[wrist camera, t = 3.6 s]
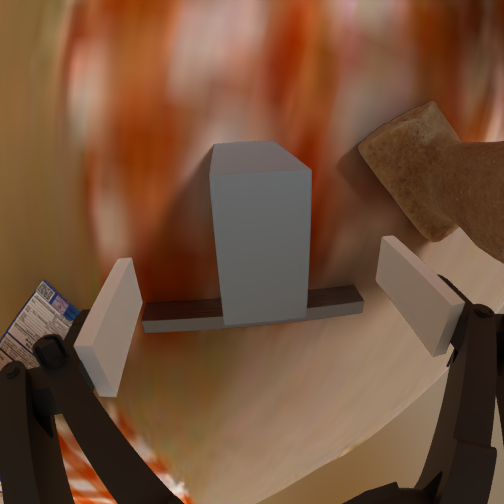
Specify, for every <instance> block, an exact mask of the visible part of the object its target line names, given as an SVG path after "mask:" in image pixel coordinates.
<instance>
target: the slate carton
mask: <svg viewBox="0 0 504 504" xmlns="http://www.w3.org/2000/svg"><path fill="white" fill-rule="evenodd" d="M209 182H210V194H211V205H212V215H213V226H214V236H215V246H216V255H217V265H218V274H219V283H220V292H221V301H222V309H223V317H224V325H234V324H246V323H257V322H267V321H277V320H287V319H296V318H304V317H306V311H307V296H308V278H309V256H310V230H311V187H312V170H311V169H310V168H308V167H307V166H306V165H305V164H303V163H302V162H301V161H300V160H298V159H297V158H296V157H295V156H293V155H292V154H291V153H289V152H288V151H287V150H286V149H284V148H283V147H282V146H280V145H279V144H278V143H276V142H275V141H253V142H236V143H222V144H214V148H213V154H212V160H211V166H210V173H209Z"/></svg>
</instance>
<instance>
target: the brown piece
mask: <svg viewBox="0 0 504 504" xmlns="http://www.w3.org/2000/svg"><path fill="white" fill-rule="evenodd" d="M358 150H359V153H360V154H361V156H362V157H363V159H364V160H365V161H366V163H367V164H368V165H369V167H370V168H371V169H372V170H373V172H374V174H375V175H376V176H377V178H378V179H379V180H380V182H381V183H382V184H383V186H384V187H385V188H386V189H387V191H388V192H389V193H390V194H391V195H392V197H393V198H394V200H395V201H396V203H397V204H398V205H399V207H400V208H401V209H402V211H403V212H404V213H405V215H406V216H407V217H408V218H409V220H410V221H411V222H412V223H413V224H414V226H415V227H416V228H417V229H418V231H419V232H420V233H421V234H422V235H423V236H424V237H425V238H427V239H428V240H430V241H432V242H438V241H441V240H442V239H444V238H445V237H447V236H448V235H449V234H451V233H452V232H453V231H455V230H456V229H457V228H458V227H460V228H461V229H463V231H464V232H465V233H466V234H467V235H468V236H469V238H470V239H471V240H472V241H473V242H474V243H475V245H476V246H478V247H479V248H480V249H482V250H483V251H485V252H486V253H488V254H489V255H490V256H492V257H493V258H495V259H496V260H498V261H500V262H502V263H504V141H500V142H483V143H481V142H477V143H465V142H462V141H461V140H460V138H459V137H458V135H457V134H456V132H455V131H454V129H453V128H452V126H451V125H450V123H449V122H448V121H447V119H446V118H445V116H444V115H443V113H442V112H441V110H440V109H439V107H438V106H437V104H436V103H435V102H433V101H429V102H426V103H425V104H424V105H423V106H421V107H418V108H414V109H410V110H409V111H408V112H407V113H404V114H402V115H401V116H399V117H396V118H394V119H393V120H392V121H391V122H390V123H387V124H384V125H382V126H380V127H379V128H377V129H376V130H375V132H373V133H371V134H369V135H368V136H367V137H366V139H365V140H364V141H363V142H361V143H360V144H359V146H358Z"/></svg>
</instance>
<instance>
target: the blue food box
mask: <svg viewBox="0 0 504 504" xmlns="http://www.w3.org/2000/svg"><path fill="white" fill-rule="evenodd" d="M79 313H80V311H78V310H77V309H76V308H75V307H74V306H73V305H72V304H70V303H69V302H68V301H67V300H66V299H65V298H64V297H63V296H62V295H60V294H59V293H58V292H57V291H56V290H55V289H54V288H53V287H52V286H51V285H50V284H49V283H48V282H47V281H46V280H45V279H44V280H43V281H42V283H41V284H40V285H39V286H38V288H37V289H36V290H35V292H34V293H33V294H32V296H31V297H30V298H29V300H28V301H27V302H26V304H25V305H24V306H23V308H22V309H21V311H20V312H19V313H18V315H17V316H16V318H15V319H14V320H13V322H12V323H11V325H10V326H9V328H8V329H7V331H6V332H5V334H4V335H3V337H2V338H1V340H0V371H1V369H2V368H3V367H4V366H5V365H6V364H7V363H9V362H11V361H16V360H18V361H21V362H23V363H24V365H25V366H26V368H27V369H30V368H34V367H39V366H40V365H39V363H38V362H37V360H36V358H35V356H34V354H33V352H32V348H33V345H34V343H35V342H36V341H37V340H38V339H40V338H41V337H43V336H45V335H48V334H57V335H60V336H61V337H62V339H63V340H64V338H65V336H66V334H67V332H69V331H68V330H69V328H70V327H71V326H72V323H73V321H74V319H75V317H76V316H77V315H78V314H79ZM0 496H1V497H2V496H3V494H2V487H1V478H0Z"/></svg>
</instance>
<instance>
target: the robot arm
mask: <svg viewBox="0 0 504 504" xmlns="http://www.w3.org/2000/svg"><path fill="white" fill-rule="evenodd" d="M375 280H376V282H377V283H378V284H379V285H380V287H381V288H382V289H383V291H384V292H385V293H386V294H387V296H388V297H389V298H390V300H391V301H392V302H393V304H394V305H395V306H396V307H397V309H398V310H399V311H400V313H401V314H402V315H403V317H404V318H405V319H406V321H407V322H408V323H409V325H410V326H411V327H412V329H413V330H414V332H415V333H416V334H417V336H418V337H419V338H420V340H421V341H422V343H423V344H424V345H425V347H426V348H427V350H428V351H429V352H430V354H431V355H432V357H435V356H438V355H442V354H445V353H446V352H447V349H448V347H449V344H450V343H451V344H452V345H453V347H454V350H453V352H452V355H451V357H450V359H449V361H448V364H447V367H449V365H450V367H449V373H448V379H447V383H446V388H445V393H444V397H443V402H442V407H441V410H440V414H439V418H438V422H437V426H436V429H435V434H434V436H433V440H432V443H431V446H430V450H429V453H428V456H427V459H426V463H425V465H424V468H423V471H422V474H421V476H420V478H419V480H418V482H417V484H416V485H415V487H414V488H399V487H398V485H397V482H393V483H390V484H387V485H384V486H381V487H378V488H375V489H372V490H368V491H365V492H364V493H362V494H360V495H358V496H356V497H354V498H353V499H351V500H349V501H347V502H345V503H343V504H487V503H488V499H489V494H490V490H491V485H492V480H493V475H494V470H495V464H496V458H497V450H496V448H495V447H491V438H492V437H491V436H492V430H493V420H494V410H495V397H496V398H497V403H498V409H499V415H500V421H501V428H502V436H503V444H504V314H494V312H493V311H492V309H490V308H489V307H487V306H485V305H483V304H472V303H471V302H470V301H469V300H468V299H467V298H466V297H465V296H464V295H463V294H462V293H461V292H460V291H458V289H457V288H456V287H455V286H453V284H452V283H451V282H450V281H449V280H448V279H446V278H444V277H443V276H441V275H439V274H438V275H437V274H436V273H435V272H433V271H432V270H431V269H430V268H429V267H428V266H427V265H426V264H425V263H424V262H423V261H422V260H421V259H419V258H418V257H417V256H416V255H415V254H414V253H413V252H412V251H411V250H409V249H408V248H407V247H406V246H405V245H404V244H403V243H402V242H400V241H399V240H398V239H397V238H396V237H395V236H394V235H393V236H382V238H381V246H380V253H379V260H378V267H377V273H376V279H375ZM142 303H143V302H142V298H141V294H140V290H139V286H138V282H137V278H136V274H135V270H134V265H133V261H132V257H130V258H118V259H117V261H116V263H115V265H114V267H113V268H112V270H111V272H110V274H109V276H108V278H107V279H106V281H105V283H104V285H103V287H102V289H101V291H100V293H99V295H98V296H97V298H96V300H95V302H94V304H93V306H92V308H91V309H89V310H82V311H81V312H80V313H79V314H78V315H77V316H76V317H75V319H74V321H73V323H72V326H71V327H70V328H69V330H68V331H69V332H67V334H66V336H65V338H64V340H63V339H62V337H61V336H60V335H57V334H48V335H45V336H43V337H41V338H40V339H38V340H37V341H36V342H35V343H34V345H33V348H32V352H33V354H34V356H35V358H36V360H37V362H38V363H39V365H40V366H39V367H34V368H30V369H27V368H26V366H25V365H24V363H23V362H21V361H18V360H16V361H11V362H9V363H7V364H6V365H5V366H4V367H3V368H2V369H1V371H0V478H1V487H2V494H3V501H4V504H75V503H74V500H73V496H72V493H71V490H70V486H69V482H68V479H67V475H66V471H65V467H64V463H63V459H62V454H61V450H60V445H59V440H58V435H57V429H56V423H55V417H54V415H56V414H61V413H62V414H63V416H64V418H65V420H66V422H67V424H68V426H69V428H70V429H71V431H72V433H73V435H74V437H75V438H76V440H77V442H78V444H79V445H80V447H81V449H82V451H83V452H84V454H85V456H86V457H87V459H88V460H89V462H90V464H91V465H92V467H93V468H94V470H95V472H96V473H97V475H98V476H99V478H100V479H101V481H102V482H103V484H104V485H105V486H106V488H107V489H108V491H109V492H110V494H111V495H112V496H113V498H114V499H115V500H116V502H117V503H118V504H184V503H183V502H182V501H181V500H180V499H179V498H178V497H177V496H175V495H174V494H173V493H172V492H171V491H170V490H169V489H168V488H167V487H166V486H165V485H164V484H163V482H162V481H161V480H160V479H159V478H158V477H157V476H156V475H155V473H154V472H153V471H152V470H151V469H150V468H149V467H148V465H147V464H146V463H145V462H144V461H143V459H142V458H141V457H140V456H139V455H138V453H137V452H136V451H135V450H134V448H133V447H132V446H131V445H130V443H129V442H128V441H127V440H126V438H125V437H124V436H123V434H122V433H121V432H120V430H119V429H118V428H117V426H116V425H115V424H114V422H113V421H112V419H111V418H110V417H109V415H108V414H107V412H106V411H105V409H104V408H103V407H102V405H101V404H100V402H99V401H98V399H97V398H96V396H95V395H94V393H93V390H94V387H95V389H96V391H97V393H98V395H99V396H102V397H117V393H118V389H119V385H120V381H121V377H122V373H123V369H124V366H125V362H126V358H127V354H128V351H129V347H130V344H131V340H132V337H133V333H134V330H135V326H136V323H137V320H138V316H139V313H140V310H141V306H142Z"/></svg>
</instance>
